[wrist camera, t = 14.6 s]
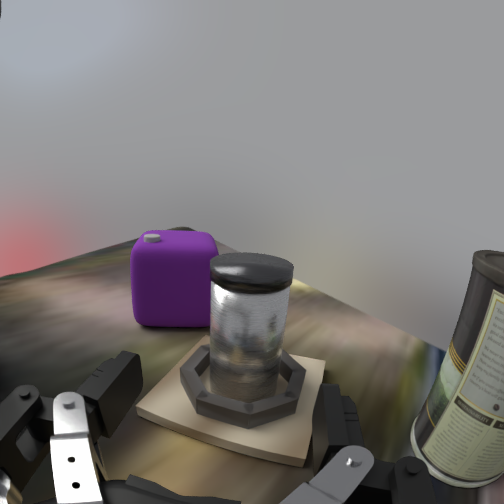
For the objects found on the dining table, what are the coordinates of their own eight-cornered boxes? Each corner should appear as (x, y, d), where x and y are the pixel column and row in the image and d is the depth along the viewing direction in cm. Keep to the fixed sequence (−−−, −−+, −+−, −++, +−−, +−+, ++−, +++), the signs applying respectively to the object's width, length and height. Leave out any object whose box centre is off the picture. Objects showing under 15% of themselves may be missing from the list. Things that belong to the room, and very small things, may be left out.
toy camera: (203, 285, 45) (206, 219, 43) (232, 329, 33) (239, 241, 31) (131, 289, 41) (130, 219, 39) (135, 337, 29) (129, 243, 26)
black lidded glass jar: (196, 395, 20) (195, 267, 18) (224, 360, 25) (228, 249, 23) (267, 415, 19) (284, 282, 16) (284, 374, 24) (299, 259, 22)
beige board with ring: (137, 415, 18) (132, 390, 18) (204, 343, 30) (205, 321, 29) (302, 467, 15) (310, 445, 15) (323, 369, 26) (328, 347, 26)
